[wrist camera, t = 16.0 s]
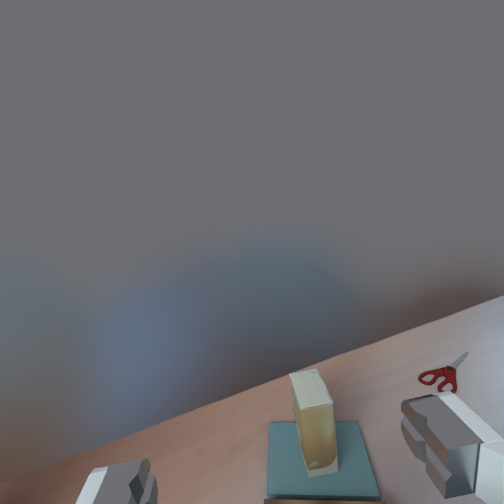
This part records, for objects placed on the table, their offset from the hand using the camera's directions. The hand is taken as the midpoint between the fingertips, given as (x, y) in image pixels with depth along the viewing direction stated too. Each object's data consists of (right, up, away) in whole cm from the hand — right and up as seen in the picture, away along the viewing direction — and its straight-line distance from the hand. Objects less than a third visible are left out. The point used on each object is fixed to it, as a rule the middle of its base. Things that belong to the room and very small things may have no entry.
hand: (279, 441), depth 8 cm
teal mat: (+9, -24, +29) cm, 39 cm away
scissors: (+37, -17, +40) cm, 57 cm away
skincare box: (+9, -23, +29) cm, 38 cm away
